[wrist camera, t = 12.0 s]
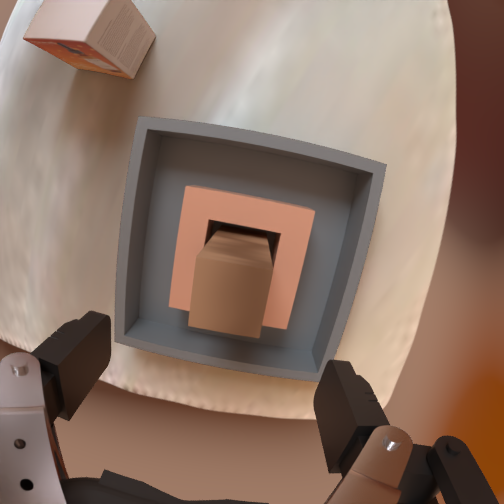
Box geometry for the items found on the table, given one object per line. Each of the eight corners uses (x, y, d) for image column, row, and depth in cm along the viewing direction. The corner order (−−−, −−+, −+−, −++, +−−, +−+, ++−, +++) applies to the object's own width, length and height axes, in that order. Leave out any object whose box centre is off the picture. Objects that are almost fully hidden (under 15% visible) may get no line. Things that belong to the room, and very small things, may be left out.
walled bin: (132, 320, 31) (114, 341, 26) (157, 126, 26) (138, 116, 22) (316, 355, 31) (324, 382, 26) (365, 166, 27) (386, 164, 22)
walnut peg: (215, 267, 28) (188, 325, 17) (221, 224, 27) (196, 256, 16) (258, 275, 28) (259, 338, 17) (266, 232, 28) (273, 270, 16)
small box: (77, 69, 25) (19, 39, 14) (99, 26, 24) (51, -15, 13) (134, 81, 25) (83, 43, 15) (158, 35, 24) (120, -17, 14)
